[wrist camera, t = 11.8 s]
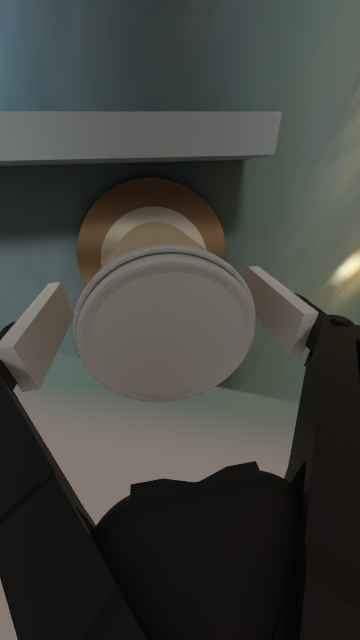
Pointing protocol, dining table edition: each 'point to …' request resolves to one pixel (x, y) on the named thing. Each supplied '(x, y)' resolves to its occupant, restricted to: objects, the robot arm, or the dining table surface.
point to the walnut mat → (145, 219)
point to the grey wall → (134, 136)
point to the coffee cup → (163, 317)
